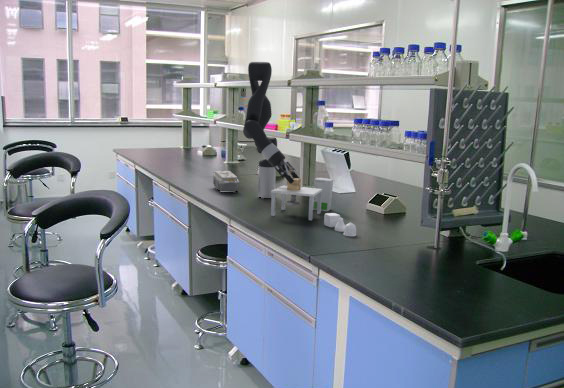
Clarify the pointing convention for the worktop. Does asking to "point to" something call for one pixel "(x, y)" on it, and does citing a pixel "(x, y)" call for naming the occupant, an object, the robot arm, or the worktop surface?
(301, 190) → the white slotted table
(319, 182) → the skincare box
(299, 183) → the tan block with stem
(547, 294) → the worktop surface
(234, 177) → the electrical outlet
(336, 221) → the container set
